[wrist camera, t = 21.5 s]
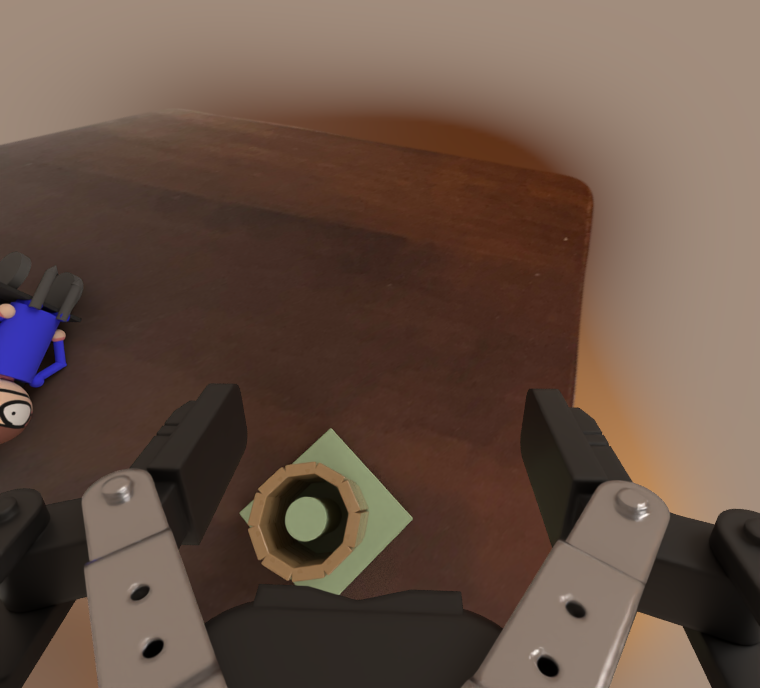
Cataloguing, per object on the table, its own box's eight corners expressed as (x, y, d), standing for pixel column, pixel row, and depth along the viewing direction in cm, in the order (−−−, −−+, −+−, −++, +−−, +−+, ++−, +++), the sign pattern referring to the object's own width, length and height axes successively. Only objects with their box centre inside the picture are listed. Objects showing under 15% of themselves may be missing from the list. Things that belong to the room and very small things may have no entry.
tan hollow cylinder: (386, 517, 34) (383, 520, 26) (319, 584, 32) (295, 609, 25) (330, 453, 35) (311, 439, 28) (264, 515, 34) (225, 518, 26)
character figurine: (116, 291, 42) (41, 457, 38) (40, 273, 42) (-43, 435, 38) (63, 248, 35) (-38, 449, 30) (-29, 226, 35) (-143, 422, 30)
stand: (412, 518, 35) (417, 522, 26) (321, 611, 33) (296, 647, 25) (332, 430, 37) (313, 408, 29) (243, 512, 35) (196, 515, 27)
